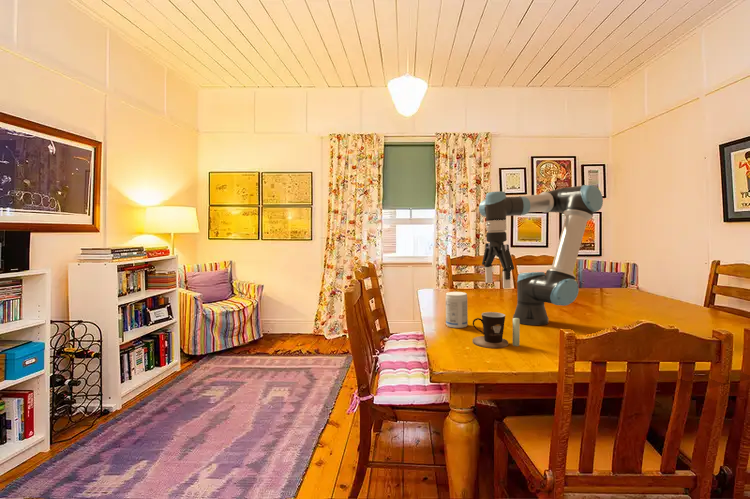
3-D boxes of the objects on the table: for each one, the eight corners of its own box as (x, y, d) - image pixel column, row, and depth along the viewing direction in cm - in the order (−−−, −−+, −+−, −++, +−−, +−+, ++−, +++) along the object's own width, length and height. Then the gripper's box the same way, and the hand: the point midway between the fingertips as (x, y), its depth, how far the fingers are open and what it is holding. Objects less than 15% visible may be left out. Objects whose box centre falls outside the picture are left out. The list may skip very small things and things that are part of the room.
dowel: (516, 344, 145) (516, 317, 144) (520, 345, 143) (521, 319, 142) (511, 344, 144) (511, 318, 143) (515, 346, 142) (515, 319, 141)
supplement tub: (461, 322, 178) (462, 291, 178) (471, 327, 169) (471, 294, 168) (442, 324, 176) (442, 292, 176) (450, 329, 167) (450, 295, 166)
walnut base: (493, 336, 155) (493, 334, 155) (515, 345, 143) (515, 343, 143) (465, 340, 150) (465, 338, 150) (486, 349, 138) (486, 347, 138)
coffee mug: (505, 338, 149) (505, 313, 149) (504, 344, 141) (504, 317, 141) (474, 335, 153) (474, 311, 153) (472, 341, 145) (472, 315, 145)
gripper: (473, 231, 162) (474, 281, 164) (504, 232, 138) (505, 291, 139) (489, 230, 164) (490, 280, 165) (523, 231, 139) (524, 289, 141)
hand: (497, 285), depth 152 cm, fingers open, 13 cm apart
